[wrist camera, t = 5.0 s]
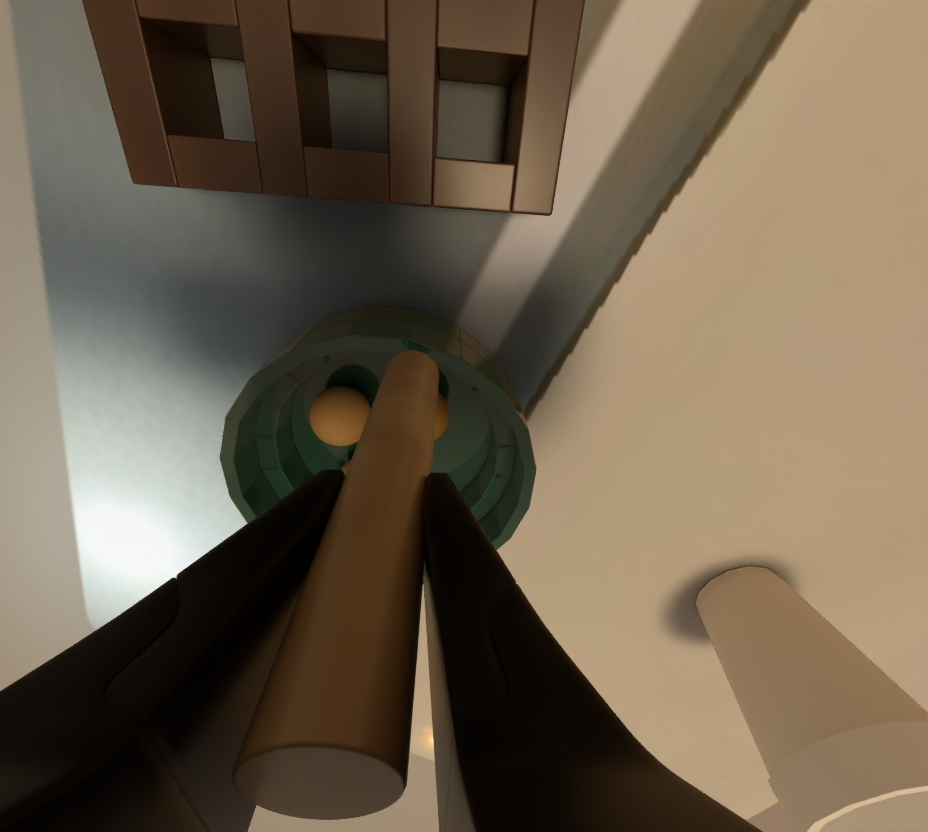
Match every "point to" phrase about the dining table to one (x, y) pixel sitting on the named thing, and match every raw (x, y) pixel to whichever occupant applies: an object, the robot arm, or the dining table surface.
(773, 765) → the foam cup
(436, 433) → the bead
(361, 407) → the bead
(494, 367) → the bowl
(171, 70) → the rack
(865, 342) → the dining table surface
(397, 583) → the stick
